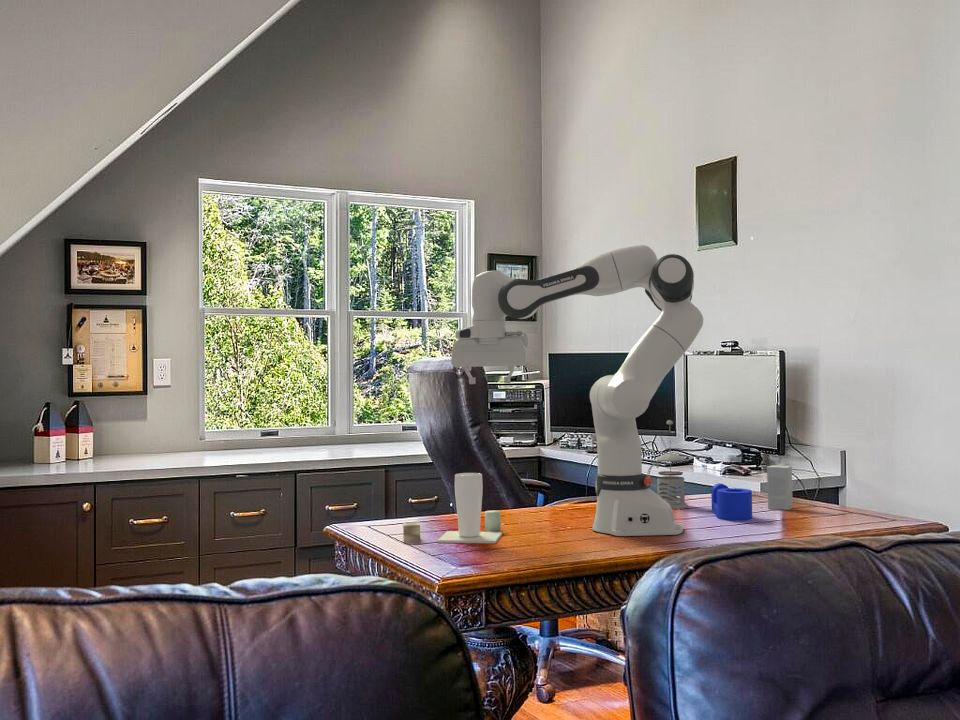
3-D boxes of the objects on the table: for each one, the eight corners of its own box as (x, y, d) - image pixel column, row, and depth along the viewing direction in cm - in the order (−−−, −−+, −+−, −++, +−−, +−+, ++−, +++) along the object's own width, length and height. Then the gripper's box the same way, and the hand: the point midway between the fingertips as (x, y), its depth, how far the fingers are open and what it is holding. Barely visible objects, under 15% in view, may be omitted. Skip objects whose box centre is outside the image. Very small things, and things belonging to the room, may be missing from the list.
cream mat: (502, 534, 238) (502, 531, 238) (495, 543, 226) (495, 540, 226) (447, 533, 240) (447, 531, 240) (437, 542, 228) (437, 540, 228)
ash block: (419, 538, 235) (419, 522, 235) (420, 541, 231) (420, 525, 231) (403, 539, 234) (403, 522, 234) (403, 542, 230) (403, 525, 230)
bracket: (756, 521, 251) (756, 492, 251) (722, 522, 251) (721, 493, 251) (736, 509, 271) (735, 483, 271) (704, 510, 271) (703, 483, 271)
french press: (683, 509, 272) (682, 421, 272) (644, 507, 277) (642, 421, 277) (691, 504, 281) (690, 419, 281) (653, 502, 286) (651, 418, 286)
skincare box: (793, 508, 270) (792, 466, 270) (789, 510, 267) (788, 467, 267) (771, 506, 274) (770, 465, 274) (767, 508, 270) (766, 466, 270)
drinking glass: (480, 538, 229) (479, 476, 229) (452, 538, 231) (451, 475, 231) (485, 533, 236) (484, 472, 236) (458, 533, 237) (457, 472, 237)
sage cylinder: (501, 530, 244) (501, 510, 244) (499, 532, 240) (499, 513, 240) (486, 529, 245) (486, 510, 245) (483, 532, 241) (483, 512, 241)
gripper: (529, 331, 256) (529, 383, 256) (454, 333, 259) (454, 383, 259) (526, 330, 250) (527, 383, 250) (449, 332, 253) (450, 384, 253)
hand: (489, 383), depth 254 cm, fingers open, 8 cm apart
